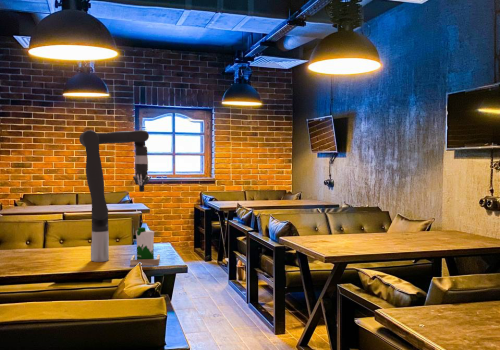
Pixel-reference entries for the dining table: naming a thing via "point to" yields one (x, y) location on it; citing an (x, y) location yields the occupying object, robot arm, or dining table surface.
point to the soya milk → (145, 244)
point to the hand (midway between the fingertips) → (141, 191)
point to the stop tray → (145, 261)
